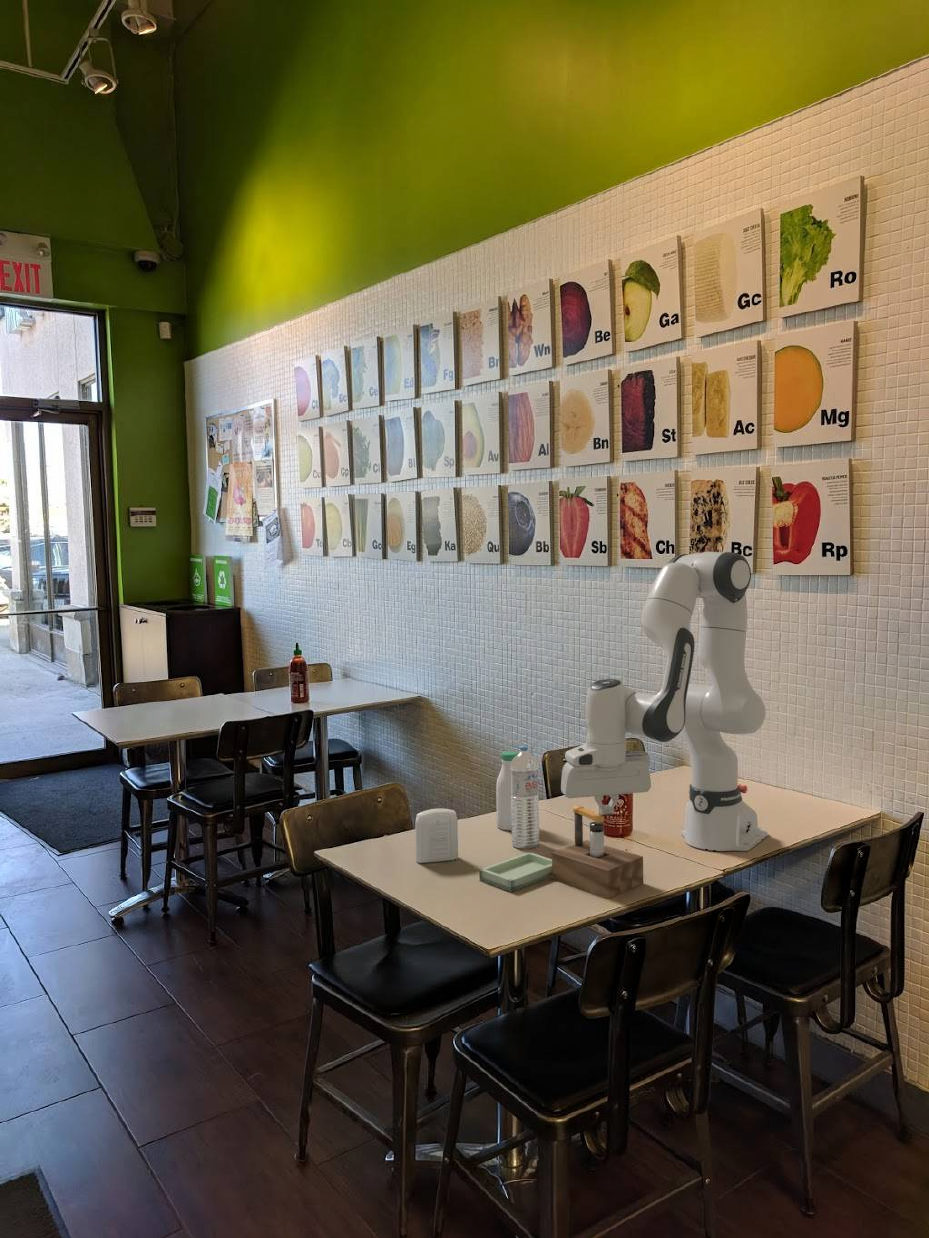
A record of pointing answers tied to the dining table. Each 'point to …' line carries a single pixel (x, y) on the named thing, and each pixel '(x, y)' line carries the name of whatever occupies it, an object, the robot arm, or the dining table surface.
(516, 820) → the water bottle
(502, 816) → the milk bottle
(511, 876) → the tray
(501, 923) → the dining table surface
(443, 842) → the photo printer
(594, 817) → the bar
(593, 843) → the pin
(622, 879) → the block
